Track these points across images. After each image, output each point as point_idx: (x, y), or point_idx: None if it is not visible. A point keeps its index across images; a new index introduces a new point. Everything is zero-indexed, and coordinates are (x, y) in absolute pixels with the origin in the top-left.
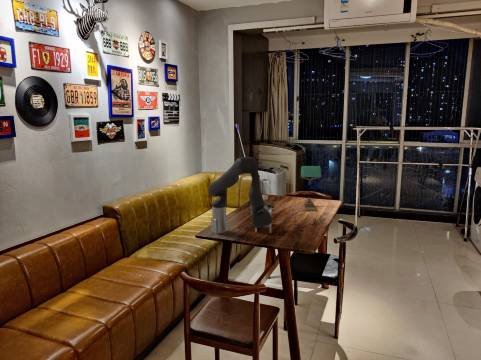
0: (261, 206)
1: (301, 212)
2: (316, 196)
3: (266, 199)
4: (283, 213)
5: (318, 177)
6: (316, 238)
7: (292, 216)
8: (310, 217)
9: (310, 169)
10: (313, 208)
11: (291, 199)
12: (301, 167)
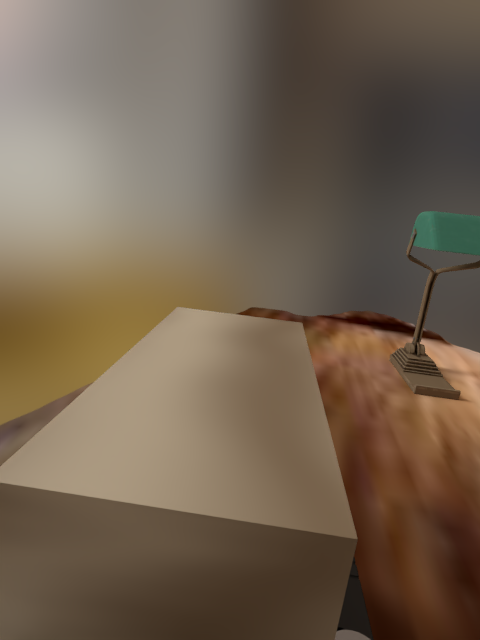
0: None
1: (401, 398)
2: (406, 329)
3: (309, 535)
4: (329, 396)
5: (475, 265)
6: None
7: (375, 423)
8: (463, 441)
9: (467, 223)
10: (440, 382)
11: (339, 331)
12: (418, 217)
